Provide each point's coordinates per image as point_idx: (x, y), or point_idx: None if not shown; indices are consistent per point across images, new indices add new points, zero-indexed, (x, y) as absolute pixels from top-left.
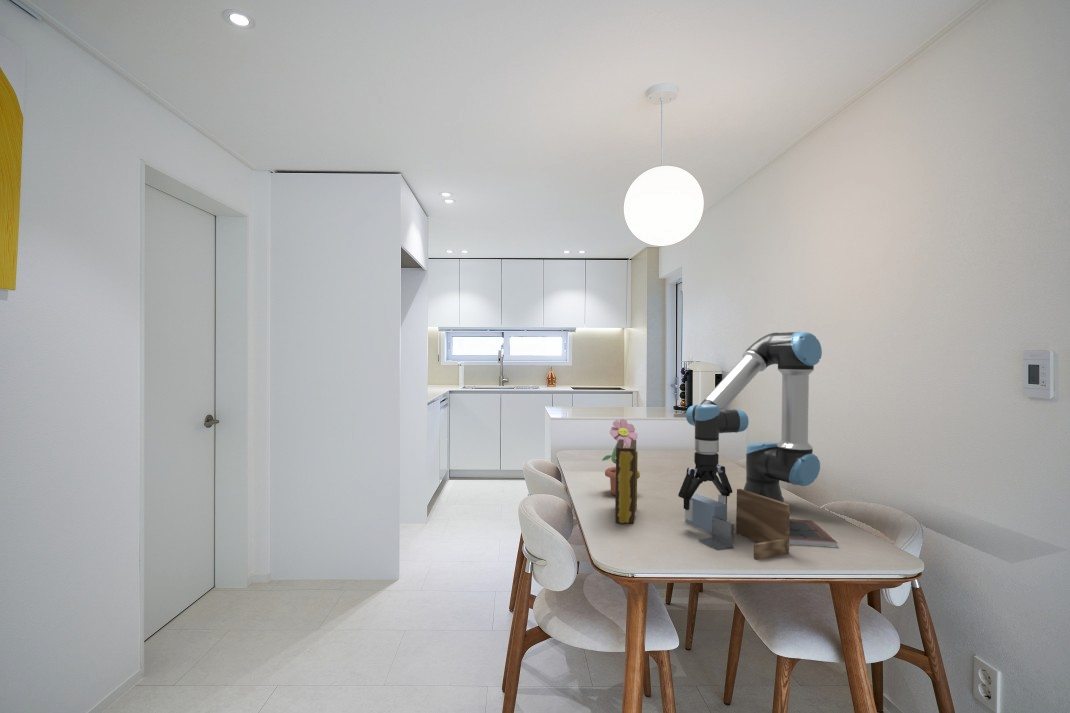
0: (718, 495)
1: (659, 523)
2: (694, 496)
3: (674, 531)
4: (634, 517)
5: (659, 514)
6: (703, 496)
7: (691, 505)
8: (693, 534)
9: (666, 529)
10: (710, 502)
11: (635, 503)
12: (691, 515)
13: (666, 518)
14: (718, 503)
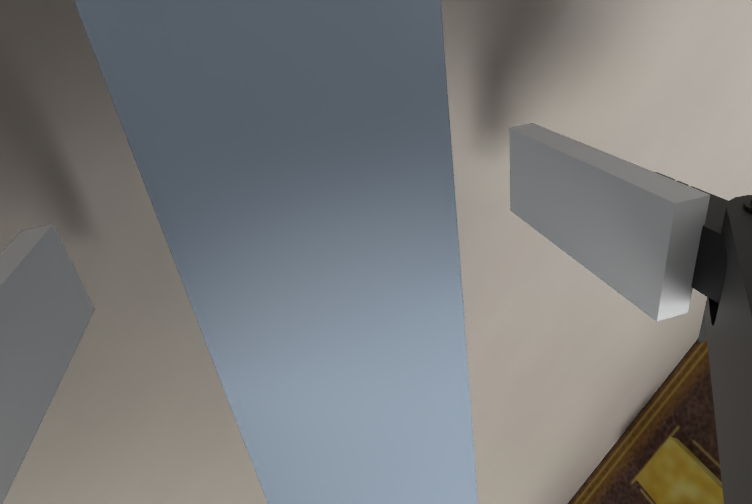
0: (4, 491)
1: (584, 302)
2: (396, 480)
3: (606, 118)
4: (705, 367)
5: None
6: (268, 486)
7: (632, 172)
8: (514, 5)
9: None
10: (340, 178)
11: (717, 478)
12: (548, 139)
13: (475, 394)
14: (212, 81)
